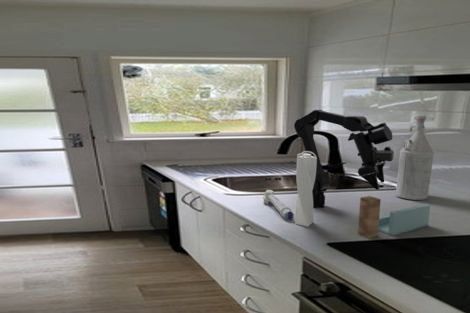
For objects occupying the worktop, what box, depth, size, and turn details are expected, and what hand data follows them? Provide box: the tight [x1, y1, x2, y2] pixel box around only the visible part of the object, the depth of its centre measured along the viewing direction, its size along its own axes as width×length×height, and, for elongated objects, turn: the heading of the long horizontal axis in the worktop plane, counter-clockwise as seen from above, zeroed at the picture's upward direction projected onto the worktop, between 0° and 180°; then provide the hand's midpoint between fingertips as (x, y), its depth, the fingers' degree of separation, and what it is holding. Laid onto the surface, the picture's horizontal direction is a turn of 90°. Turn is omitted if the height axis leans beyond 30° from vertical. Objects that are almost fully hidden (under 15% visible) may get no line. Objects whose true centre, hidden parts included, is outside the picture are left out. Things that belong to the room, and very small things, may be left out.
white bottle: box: [395, 113, 435, 201], centre depth 156 cm, size 13×17×40 cm
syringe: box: [262, 189, 295, 221], centre depth 138 cm, size 5×7×25 cm
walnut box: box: [357, 195, 382, 239], centre depth 112 cm, size 4×4×13 cm
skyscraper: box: [294, 150, 317, 227], centre depth 121 cm, size 8×8×28 cm
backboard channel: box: [378, 203, 431, 236], centre depth 120 cm, size 9×20×8 cm, turn 118°
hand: (380, 185), depth 125 cm, fingers open, 9 cm apart
